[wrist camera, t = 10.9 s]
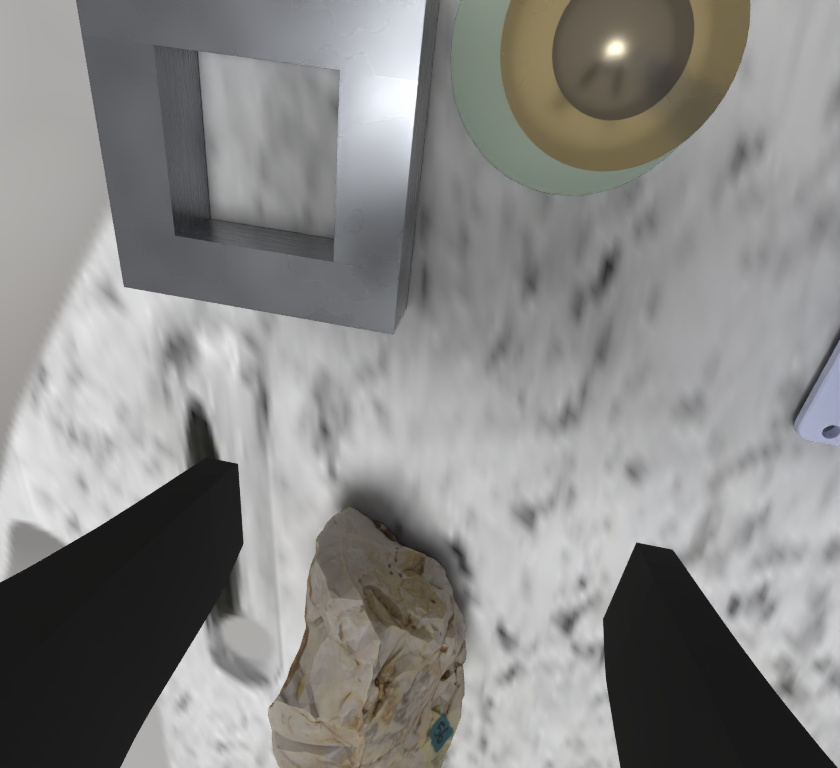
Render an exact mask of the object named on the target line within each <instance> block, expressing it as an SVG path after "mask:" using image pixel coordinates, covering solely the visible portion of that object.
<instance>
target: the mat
mask: <svg viewBox="0 0 840 768" xmlns="http://www.w3.org/2000/svg"><path fill="white" fill-rule="evenodd" d="M510 1H511V0H461V2H460V6H459V9H458V12H457V16H456V19H455V25H454V31H453V36H452V46H451V77H452V84H453V90H454V96H455V100H456V103H457V107H458V110H459V114H460V116H461V119H462V121H463V123H464V126H465V128H466V130H467V132H468V134H469V135H470V137H471V139H472V140H473V142H474V144H475V145H476V147H477V148H478V149H479V150H480V152H481V153H482V154H483V156H484V157H485V158H486V159H487V160H488V161H489V162H490V163H491V164H492V165H493V166H494V167H495V168H496V169H498V170H499V171H500V172H502V173H503V174H504V175H506V176H507V177H508V178H510V179H512V180H514V181H516V182H517V183H519V184H521V185H523V186H526V187H528V188H531V189H534V190H536V191H540V192H545V193H549V194H555V195H568V196H571V195H587V194H592V193H598V192H603V191H606V190H609V189H612V188H615V187H618V186H621V185H623V184H625V183H627V182H630V181H632V180H634V179H636V178H637V177H639V176H641V175H642V174H644V173H646V172H648V171H649V170H651V169H652V168H653V167H655V166H656V165H657V164H659V163H660V162H661V161H663V160H664V159H665V158H666V157H667V156H668V155H669V154H671V153H672V152H673V151H674V150H675V149H676V148H677V147H678V146H677V147H676V148H675V149H673V150H671V151H670V152H668V153H666V154H665V155H663V156H661V157H659V158H657V159H655V160H653V161H650V162H648V163H646V164H643V165H640V166H636V167H633V168H629V169H624V170H618V171H605V172H600V171H588V170H583V169H578V168H574V167H571V166H569V165H566V164H563V163H561V162H559V161H557V160H555V159H553V158H552V157H550V156H548V155H547V154H546V153H544V152H543V151H542V150H540V149H539V148H538V147H537V146H536V145H535V144H534V143H533V142H532V141H531V140H530V139H529V138H528V137H527V136H526V134H525V133H524V132H523V130H522V129H521V128H520V126H519V125H518V123H517V121H516V119H515V117H514V116H513V114H512V112H511V109H510V106H509V104H508V101H507V99H506V95H505V91H504V87H503V83H502V75H501V67H500V48H501V38H502V31H503V26H504V21H505V17H506V13H507V10H508V7H509V4H510Z"/></svg>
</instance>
